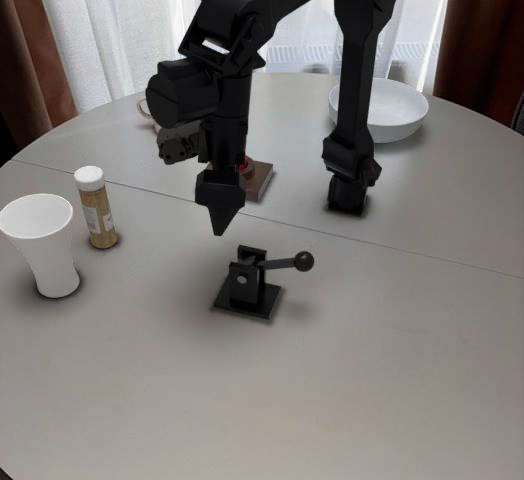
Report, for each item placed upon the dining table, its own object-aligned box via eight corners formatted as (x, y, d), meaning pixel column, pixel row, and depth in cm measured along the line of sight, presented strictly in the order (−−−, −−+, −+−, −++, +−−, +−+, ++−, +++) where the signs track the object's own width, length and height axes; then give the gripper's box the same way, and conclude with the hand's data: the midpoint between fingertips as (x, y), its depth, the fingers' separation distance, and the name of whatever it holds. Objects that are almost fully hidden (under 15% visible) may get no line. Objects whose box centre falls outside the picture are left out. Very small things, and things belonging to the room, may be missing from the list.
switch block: (273, 173, 115) (273, 155, 111) (258, 202, 108) (258, 184, 105) (215, 162, 117) (215, 144, 113) (198, 190, 110) (196, 172, 107)
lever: (319, 262, 84) (313, 245, 82) (314, 275, 82) (308, 258, 80) (246, 269, 89) (239, 253, 87) (240, 281, 87) (232, 266, 85)
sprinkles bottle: (122, 243, 100) (107, 175, 90) (97, 252, 98) (80, 184, 88) (111, 229, 102) (96, 161, 92) (86, 237, 101) (68, 170, 90)
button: (249, 161, 111) (249, 153, 109) (242, 173, 108) (242, 164, 107) (229, 158, 111) (229, 149, 110) (222, 169, 109) (222, 160, 107)
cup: (20, 271, 95) (-8, 202, 84) (84, 255, 98) (65, 187, 87) (30, 314, 89) (2, 245, 78) (98, 296, 92) (79, 227, 81)
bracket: (281, 291, 93) (283, 249, 86) (268, 321, 89) (270, 279, 82) (228, 279, 95) (226, 236, 88) (213, 308, 90) (211, 266, 84)
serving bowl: (429, 157, 119) (437, 126, 114) (327, 155, 119) (331, 123, 114) (413, 107, 133) (420, 77, 128) (322, 104, 133) (325, 74, 127)
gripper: (168, 73, 78) (168, 179, 89) (151, 135, 64) (154, 250, 75) (251, 82, 79) (241, 186, 89) (251, 145, 65) (239, 257, 76)
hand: (219, 217), depth 83 cm, fingers open, 9 cm apart
